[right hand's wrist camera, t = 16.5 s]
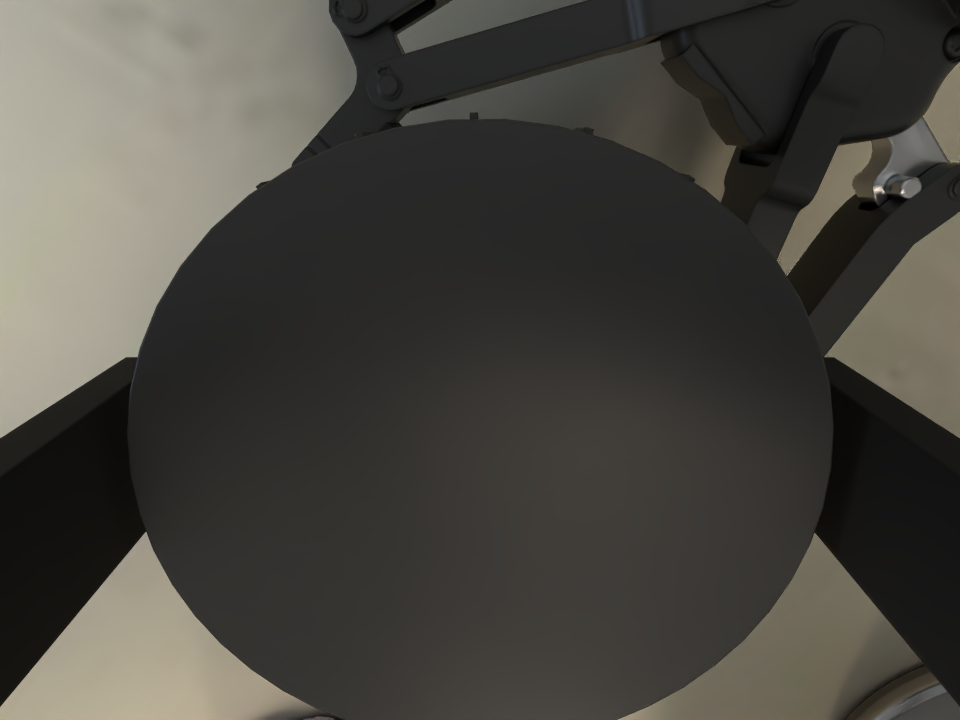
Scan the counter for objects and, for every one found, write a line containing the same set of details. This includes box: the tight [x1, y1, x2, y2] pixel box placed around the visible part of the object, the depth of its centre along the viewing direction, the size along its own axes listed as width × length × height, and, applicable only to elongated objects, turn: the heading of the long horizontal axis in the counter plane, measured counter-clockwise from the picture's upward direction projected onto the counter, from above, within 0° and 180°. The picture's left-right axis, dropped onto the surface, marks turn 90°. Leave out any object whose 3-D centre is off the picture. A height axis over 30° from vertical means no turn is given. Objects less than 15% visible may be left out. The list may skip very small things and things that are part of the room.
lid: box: [127, 113, 834, 720], centre depth 11 cm, size 11×11×2 cm
